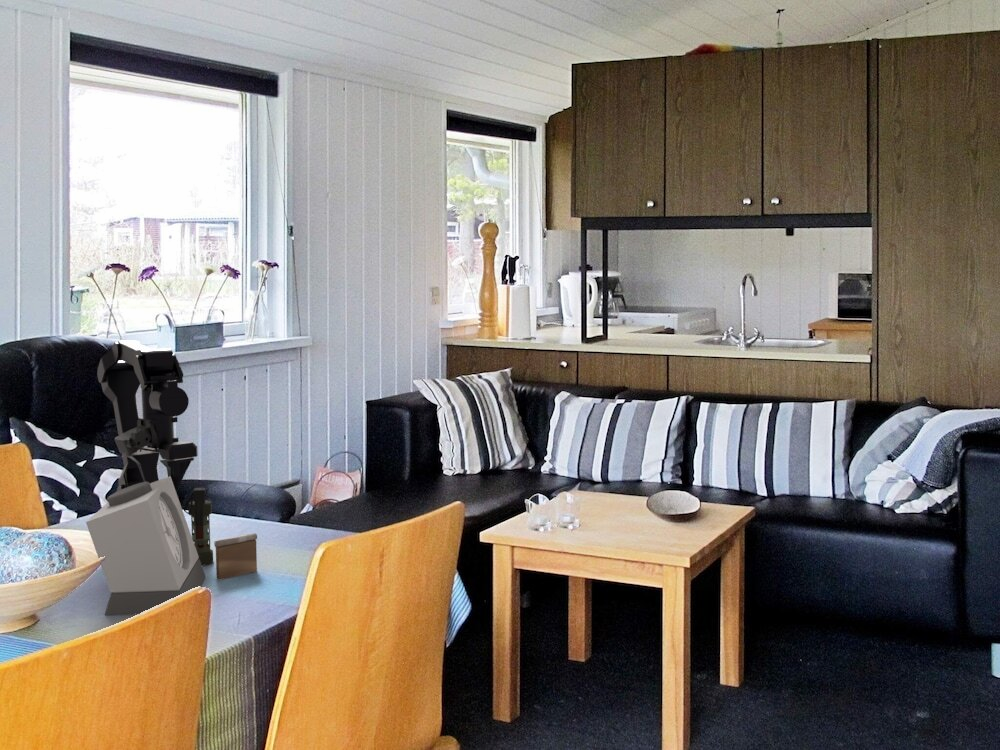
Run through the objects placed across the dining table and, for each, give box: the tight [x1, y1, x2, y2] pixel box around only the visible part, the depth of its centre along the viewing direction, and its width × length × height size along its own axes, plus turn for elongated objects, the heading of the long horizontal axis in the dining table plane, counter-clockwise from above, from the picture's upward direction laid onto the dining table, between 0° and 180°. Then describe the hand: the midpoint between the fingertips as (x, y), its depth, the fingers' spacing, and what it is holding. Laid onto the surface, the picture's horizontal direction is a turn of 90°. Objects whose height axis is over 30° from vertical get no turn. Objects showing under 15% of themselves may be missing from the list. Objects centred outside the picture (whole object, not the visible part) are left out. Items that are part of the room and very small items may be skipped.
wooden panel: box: [214, 532, 258, 581], centre depth 211 cm, size 1×8×7 cm, turn 135°
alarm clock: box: [85, 476, 207, 616], centre depth 198 cm, size 20×16×20 cm
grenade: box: [181, 487, 214, 566], centre depth 218 cm, size 6×6×15 cm
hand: (161, 490), depth 224 cm, fingers open, 9 cm apart
